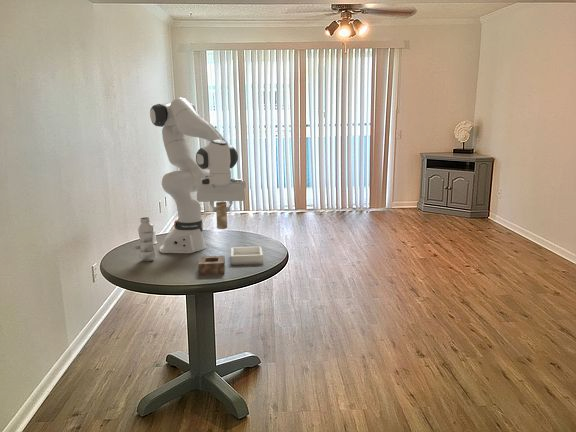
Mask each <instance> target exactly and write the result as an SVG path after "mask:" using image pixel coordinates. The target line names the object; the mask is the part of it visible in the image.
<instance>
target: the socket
mask: <svg viewBox="0 0 576 432" xmlns="http://www.w3.org/2000/svg"><path fill="white" fill-rule="evenodd" d="M225 262H226V261H225V255H211V256H210V255H209V256H200V257H199V260H198V263H197V264H198V276H199V277H200V276H220V275H221V276H223V275H225V269H226V263H225Z"/></svg>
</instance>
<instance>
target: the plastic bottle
mask: <svg viewBox="0 0 576 432" xmlns="http://www.w3.org/2000/svg"><path fill="white" fill-rule="evenodd" d="M139 220H140V225H139V226H138V230H137V231H138V235H139V241H140V243H139V244H140V251H139V258H140V259H139V260H141V261H142V262H151V261H154V260H155V257H156V252H155V250H154V249H155V248H154V244H153V227H152V226H151V225H150V224H151V223H150V217H145V216H144V217H140V219H139Z"/></svg>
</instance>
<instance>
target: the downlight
mask: <svg viewBox="0 0 576 432" xmlns="http://www.w3.org/2000/svg"><path fill="white" fill-rule="evenodd" d="M150 225H151V226H152V227H153V245H155V244H158V241H157V237H156V236H157V235H156V230H155V228H154V227H155V225H154V223H150Z"/></svg>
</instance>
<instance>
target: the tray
mask: <svg viewBox="0 0 576 432" xmlns="http://www.w3.org/2000/svg"><path fill="white" fill-rule="evenodd" d="M230 250H231V251H230V263H231V266H237V265H239V266H240V265H242V264H243V265H262V264H264V253H263V249H262V246H258V245H257V246H235V247H233V246H232V247H231V248H230Z"/></svg>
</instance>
